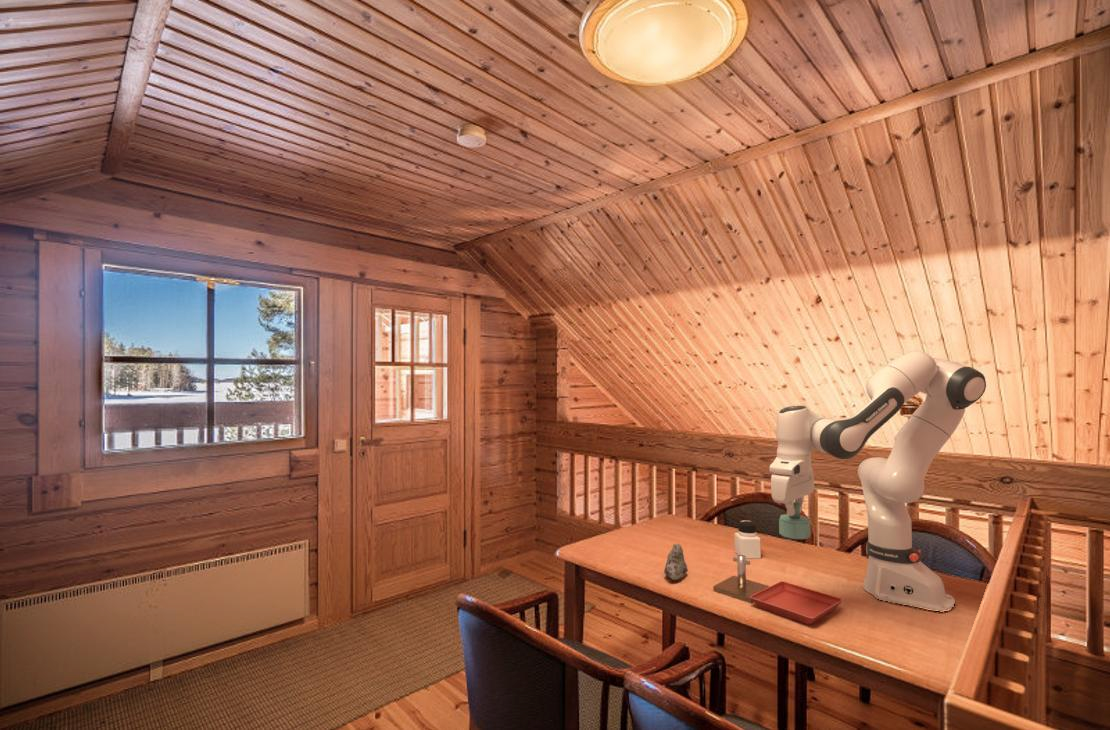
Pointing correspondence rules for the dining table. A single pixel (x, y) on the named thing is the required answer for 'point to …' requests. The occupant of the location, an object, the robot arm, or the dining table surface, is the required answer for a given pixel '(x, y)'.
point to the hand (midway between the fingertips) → (794, 513)
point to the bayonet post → (739, 583)
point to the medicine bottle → (747, 540)
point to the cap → (795, 525)
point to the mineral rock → (676, 563)
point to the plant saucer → (795, 602)
